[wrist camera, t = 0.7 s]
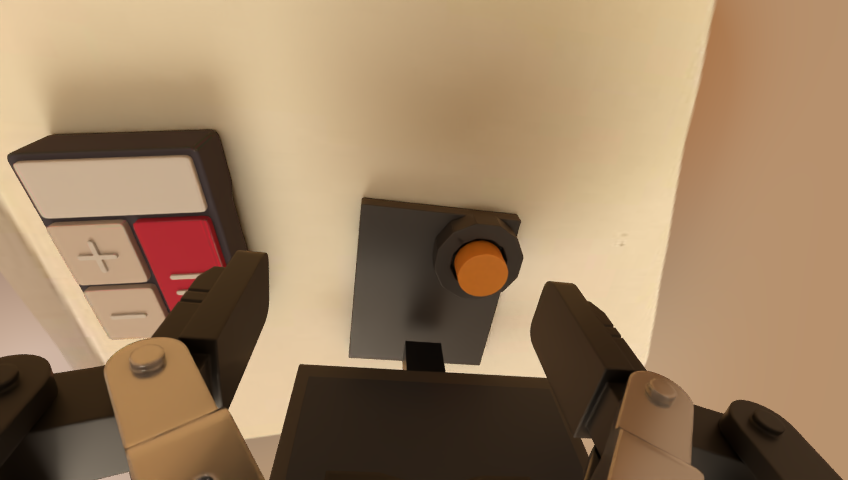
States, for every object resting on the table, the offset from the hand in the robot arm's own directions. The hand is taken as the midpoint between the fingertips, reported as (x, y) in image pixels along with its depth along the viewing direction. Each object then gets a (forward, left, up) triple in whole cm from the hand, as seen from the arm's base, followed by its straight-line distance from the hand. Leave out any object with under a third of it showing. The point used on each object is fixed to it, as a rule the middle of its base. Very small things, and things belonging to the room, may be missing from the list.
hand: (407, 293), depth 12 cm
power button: (+8, +7, -16) cm, 20 cm away
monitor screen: (+15, +4, -11) cm, 19 cm away
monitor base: (+13, +4, -19) cm, 23 cm away
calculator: (+10, -16, -19) cm, 27 cm away
